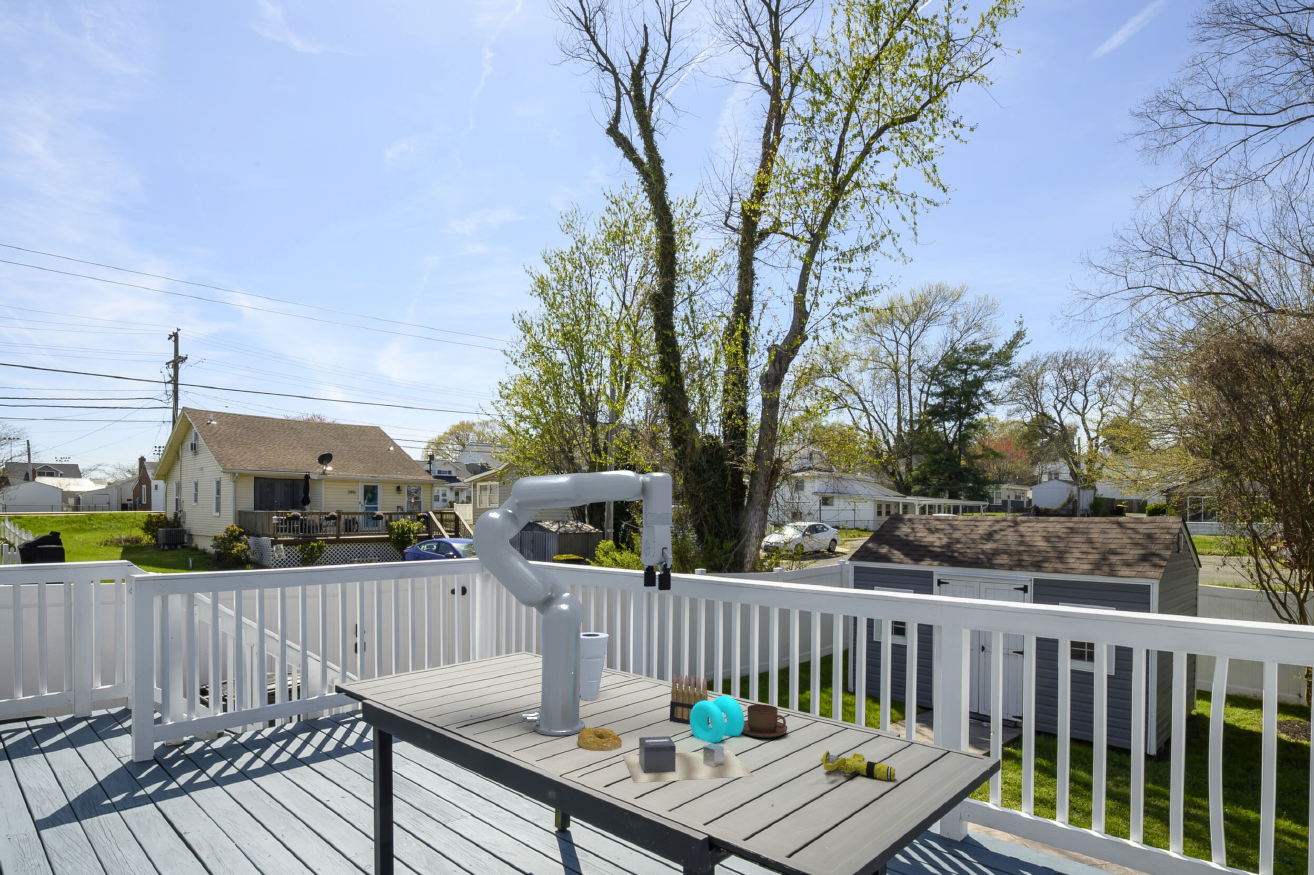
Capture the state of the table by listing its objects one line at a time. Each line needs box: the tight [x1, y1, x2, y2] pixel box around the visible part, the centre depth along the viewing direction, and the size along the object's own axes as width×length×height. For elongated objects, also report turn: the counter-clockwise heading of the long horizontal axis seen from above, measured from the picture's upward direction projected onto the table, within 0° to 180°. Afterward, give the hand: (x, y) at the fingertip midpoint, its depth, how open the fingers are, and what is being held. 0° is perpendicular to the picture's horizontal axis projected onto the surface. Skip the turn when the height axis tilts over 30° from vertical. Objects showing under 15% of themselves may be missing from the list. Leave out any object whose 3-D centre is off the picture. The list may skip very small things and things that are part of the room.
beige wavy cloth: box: [622, 750, 754, 784], centre depth 147 cm, size 24×16×2 cm, turn 100°
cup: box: [580, 631, 609, 702], centre depth 207 cm, size 11×11×18 cm
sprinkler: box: [820, 750, 896, 781], centre depth 148 cm, size 19×4×15 cm
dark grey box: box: [638, 735, 677, 773], centre depth 146 cm, size 6×6×5 cm
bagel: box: [576, 727, 623, 752], centre depth 160 cm, size 10×11×5 cm
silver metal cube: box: [702, 742, 725, 767], centre depth 148 cm, size 3×3×4 cm
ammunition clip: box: [668, 673, 710, 726], centre depth 183 cm, size 11×2×12 cm, turn 60°
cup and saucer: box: [741, 703, 788, 739], centre depth 175 cm, size 12×12×6 cm
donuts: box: [689, 695, 745, 744], centre depth 168 cm, size 10×10×10 cm
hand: (657, 588), depth 181 cm, fingers open, 9 cm apart
